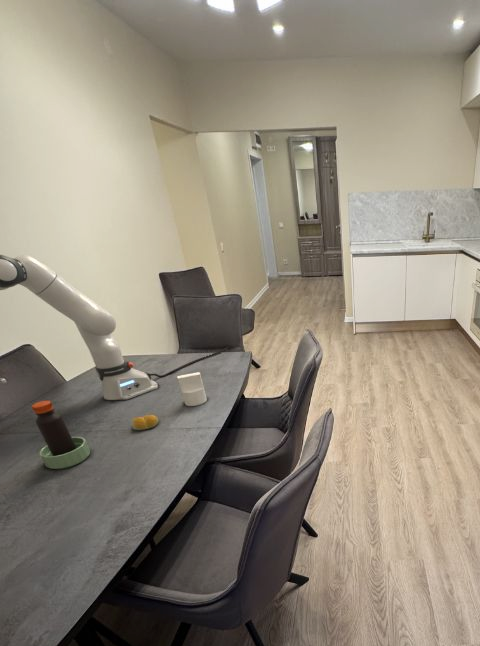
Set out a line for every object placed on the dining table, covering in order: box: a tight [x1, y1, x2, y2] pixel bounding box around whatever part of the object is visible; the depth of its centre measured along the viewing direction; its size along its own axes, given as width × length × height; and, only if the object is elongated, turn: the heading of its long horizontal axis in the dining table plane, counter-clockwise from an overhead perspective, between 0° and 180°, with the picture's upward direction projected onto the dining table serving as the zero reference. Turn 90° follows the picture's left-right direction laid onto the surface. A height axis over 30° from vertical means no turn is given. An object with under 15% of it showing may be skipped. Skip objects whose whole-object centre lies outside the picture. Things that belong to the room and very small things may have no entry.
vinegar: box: [31, 400, 77, 456], centre depth 126 cm, size 7×7×20 cm
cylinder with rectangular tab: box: [176, 371, 208, 407], centre depth 165 cm, size 9×9×12 cm
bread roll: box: [131, 414, 159, 431], centre depth 149 cm, size 8×9×4 cm
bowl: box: [39, 436, 91, 470], centre depth 130 cm, size 13×13×5 cm
